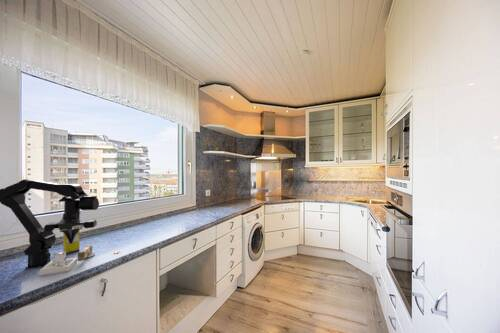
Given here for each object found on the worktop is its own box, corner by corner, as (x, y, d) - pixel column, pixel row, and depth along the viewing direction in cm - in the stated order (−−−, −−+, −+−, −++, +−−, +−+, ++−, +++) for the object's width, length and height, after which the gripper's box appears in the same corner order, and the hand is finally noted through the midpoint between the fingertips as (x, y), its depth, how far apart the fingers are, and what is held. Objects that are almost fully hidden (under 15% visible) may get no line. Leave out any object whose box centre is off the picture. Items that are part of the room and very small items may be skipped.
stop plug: (51, 270, 91) (52, 255, 92) (56, 266, 95) (56, 252, 95) (63, 269, 93) (63, 254, 93) (67, 265, 97) (67, 250, 97)
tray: (39, 276, 88) (39, 269, 88) (51, 266, 97) (51, 261, 97) (68, 271, 91) (68, 265, 91) (77, 263, 100) (77, 257, 100)
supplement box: (76, 248, 120) (77, 229, 120) (79, 251, 116) (79, 230, 116) (62, 251, 115) (63, 231, 116) (65, 254, 111) (65, 233, 112)
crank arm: (85, 252, 110) (86, 244, 110) (92, 252, 111) (93, 244, 111) (76, 263, 97) (76, 253, 97) (84, 261, 98) (84, 252, 98)
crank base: (80, 258, 105) (80, 256, 105) (84, 255, 110) (84, 253, 110) (118, 253, 111) (118, 252, 111) (119, 250, 116) (119, 248, 116)
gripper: (37, 215, 91) (36, 252, 90) (90, 212, 98) (89, 246, 97) (50, 210, 101) (49, 244, 100) (97, 208, 108) (96, 239, 107)
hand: (71, 243), depth 101 cm, fingers closed
